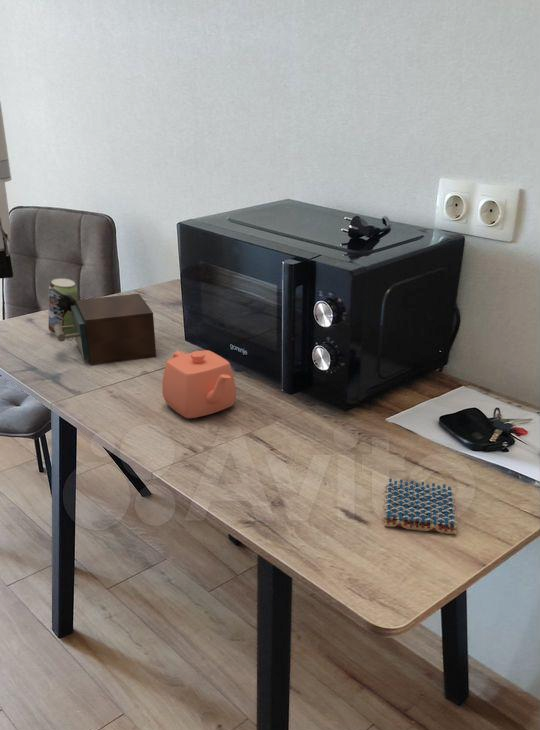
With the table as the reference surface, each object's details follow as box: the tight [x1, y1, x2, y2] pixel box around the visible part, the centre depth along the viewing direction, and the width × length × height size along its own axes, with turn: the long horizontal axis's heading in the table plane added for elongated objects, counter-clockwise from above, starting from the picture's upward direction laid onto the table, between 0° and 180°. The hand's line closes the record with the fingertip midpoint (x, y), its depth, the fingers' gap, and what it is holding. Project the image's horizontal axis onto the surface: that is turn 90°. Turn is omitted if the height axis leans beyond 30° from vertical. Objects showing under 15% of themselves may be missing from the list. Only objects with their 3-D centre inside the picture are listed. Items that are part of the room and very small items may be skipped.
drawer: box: [54, 305, 90, 362], centre depth 147 cm, size 17×11×8 cm
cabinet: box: [76, 293, 157, 366], centre depth 148 cm, size 14×13×10 cm
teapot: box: [161, 349, 237, 419], centre depth 126 cm, size 12×18×10 cm, turn 37°
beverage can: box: [48, 277, 79, 335], centre depth 154 cm, size 6×7×12 cm
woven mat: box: [382, 478, 459, 536], centre depth 102 cm, size 10×11×2 cm
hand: (4, 276), depth 131 cm, fingers closed
